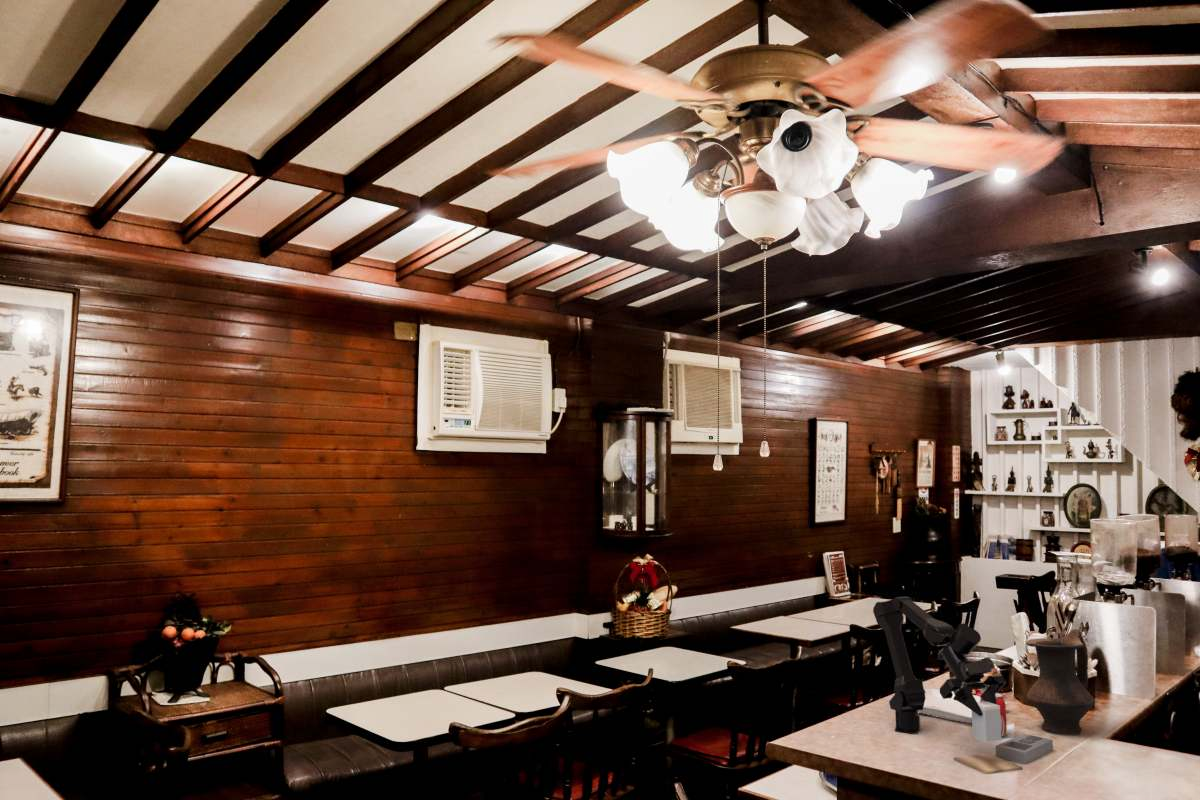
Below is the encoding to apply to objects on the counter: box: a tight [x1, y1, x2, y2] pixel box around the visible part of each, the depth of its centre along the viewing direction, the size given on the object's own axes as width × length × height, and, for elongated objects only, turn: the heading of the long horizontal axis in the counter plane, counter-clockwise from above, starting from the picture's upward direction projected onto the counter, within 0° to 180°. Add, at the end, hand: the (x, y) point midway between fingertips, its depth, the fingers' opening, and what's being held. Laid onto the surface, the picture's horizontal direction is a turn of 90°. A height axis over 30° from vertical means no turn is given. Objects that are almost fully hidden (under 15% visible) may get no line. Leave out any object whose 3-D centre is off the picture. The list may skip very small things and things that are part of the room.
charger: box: [971, 701, 1002, 743], centre depth 231 cm, size 5×5×9 cm
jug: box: [1025, 628, 1096, 735], centre depth 262 cm, size 21×18×30 cm
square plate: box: [918, 688, 1009, 724], centre depth 283 cm, size 27×27×4 cm
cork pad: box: [953, 753, 1023, 775], centre depth 229 cm, size 12×12×1 cm
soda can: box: [980, 692, 1008, 738], centre depth 257 cm, size 7×7×12 cm
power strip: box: [994, 733, 1054, 765], centre depth 239 cm, size 18×8×3 cm, turn 131°
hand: (989, 714), depth 229 cm, fingers closed on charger, 5 cm apart
